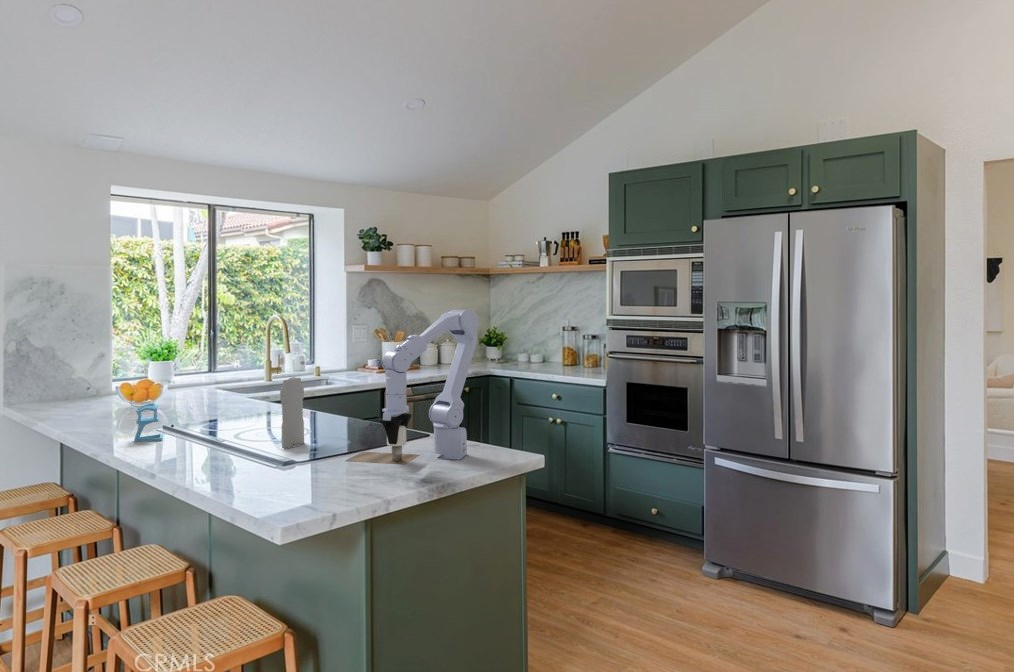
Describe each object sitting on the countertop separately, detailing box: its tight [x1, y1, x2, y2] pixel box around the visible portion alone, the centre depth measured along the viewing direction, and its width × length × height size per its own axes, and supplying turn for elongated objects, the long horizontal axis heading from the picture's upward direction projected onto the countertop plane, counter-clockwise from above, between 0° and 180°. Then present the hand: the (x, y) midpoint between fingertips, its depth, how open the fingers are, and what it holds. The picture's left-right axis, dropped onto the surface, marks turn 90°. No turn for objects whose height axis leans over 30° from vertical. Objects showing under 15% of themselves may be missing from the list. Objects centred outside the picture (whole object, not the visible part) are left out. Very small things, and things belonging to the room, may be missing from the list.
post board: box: [345, 446, 420, 466], centre depth 202 cm, size 18×12×6 cm, turn 77°
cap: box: [386, 425, 407, 447], centre depth 198 cm, size 5×5×5 cm
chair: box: [133, 403, 163, 443], centre depth 234 cm, size 8×8×12 cm
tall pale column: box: [279, 376, 305, 449], centre depth 224 cm, size 11×4×22 cm, turn 156°
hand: (396, 441), depth 198 cm, fingers closed on cap, 5 cm apart
